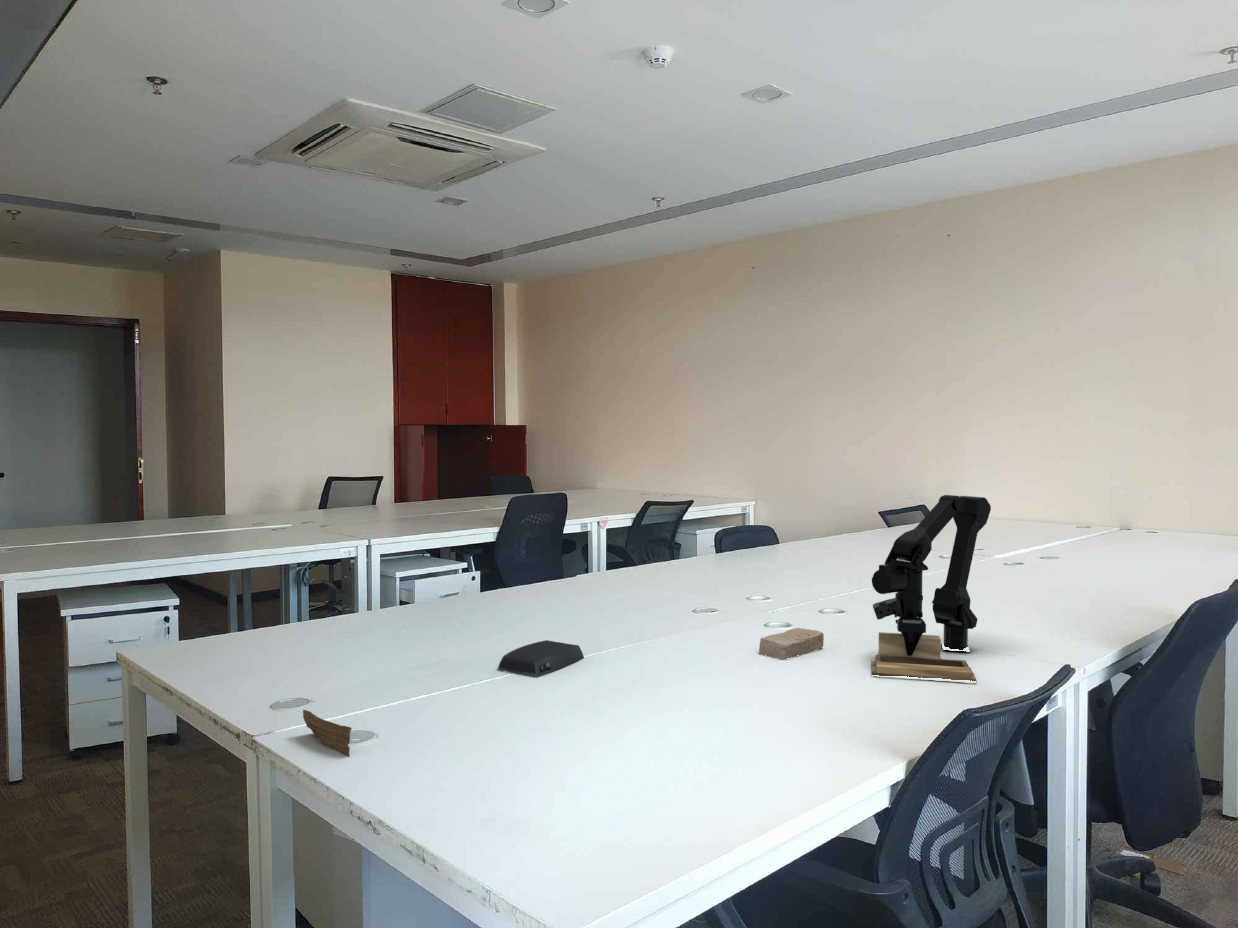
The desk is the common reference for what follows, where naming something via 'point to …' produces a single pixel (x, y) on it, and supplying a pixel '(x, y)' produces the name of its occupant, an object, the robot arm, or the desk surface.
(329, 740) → the wood plank
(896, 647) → the oak plank
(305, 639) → the desk surface
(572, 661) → the external hard drive
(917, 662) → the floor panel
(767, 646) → the brick
